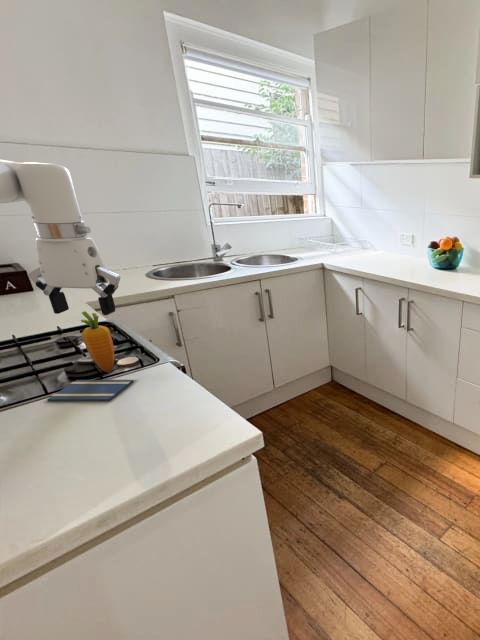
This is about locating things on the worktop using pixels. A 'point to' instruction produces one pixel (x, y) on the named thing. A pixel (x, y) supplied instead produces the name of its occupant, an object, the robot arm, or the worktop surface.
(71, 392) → the dish cloth
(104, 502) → the worktop surface
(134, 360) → the wooden spoon
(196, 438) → the worktop surface
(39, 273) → the robot arm
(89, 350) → the carrot
